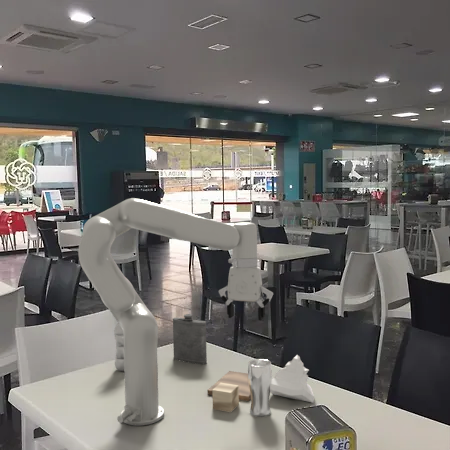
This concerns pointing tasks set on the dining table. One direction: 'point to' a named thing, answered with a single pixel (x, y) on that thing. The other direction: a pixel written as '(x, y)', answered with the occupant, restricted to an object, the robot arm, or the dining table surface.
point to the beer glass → (259, 386)
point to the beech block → (225, 397)
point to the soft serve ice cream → (292, 382)
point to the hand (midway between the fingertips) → (245, 318)
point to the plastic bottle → (119, 347)
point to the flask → (189, 340)
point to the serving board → (235, 379)
